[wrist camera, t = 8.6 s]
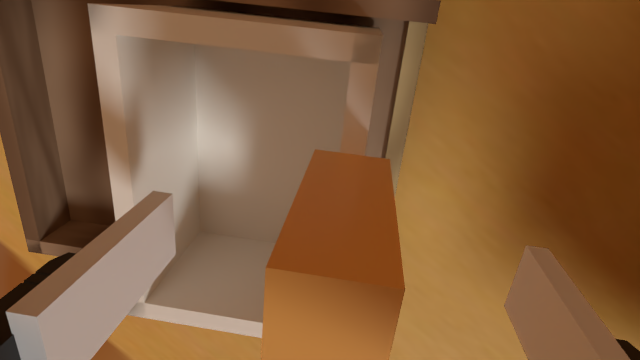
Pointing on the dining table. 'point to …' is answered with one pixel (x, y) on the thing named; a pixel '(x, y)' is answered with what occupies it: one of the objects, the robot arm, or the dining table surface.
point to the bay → (85, 110)
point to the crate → (255, 173)
